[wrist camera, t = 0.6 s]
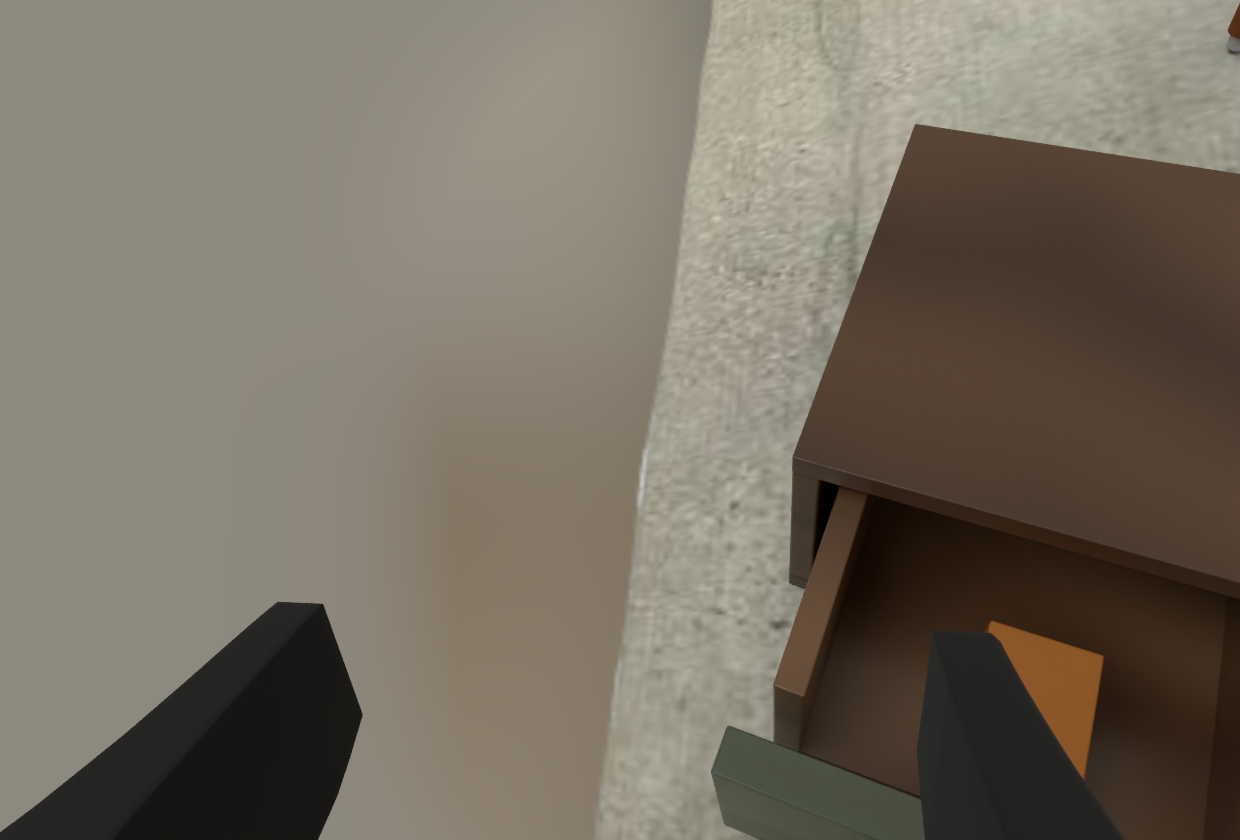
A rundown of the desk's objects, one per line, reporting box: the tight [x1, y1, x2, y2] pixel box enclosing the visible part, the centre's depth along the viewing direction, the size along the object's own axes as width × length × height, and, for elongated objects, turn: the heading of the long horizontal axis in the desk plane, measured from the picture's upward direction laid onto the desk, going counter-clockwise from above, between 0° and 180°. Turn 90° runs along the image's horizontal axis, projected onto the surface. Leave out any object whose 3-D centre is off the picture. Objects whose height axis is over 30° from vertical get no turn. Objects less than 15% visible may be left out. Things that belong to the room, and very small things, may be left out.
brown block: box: [984, 621, 1104, 780], centre depth 25 cm, size 4×3×4 cm, turn 157°
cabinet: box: [789, 124, 1240, 599], centre depth 29 cm, size 14×15×9 cm
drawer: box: [711, 486, 1240, 840], centre depth 24 cm, size 17×13×7 cm
